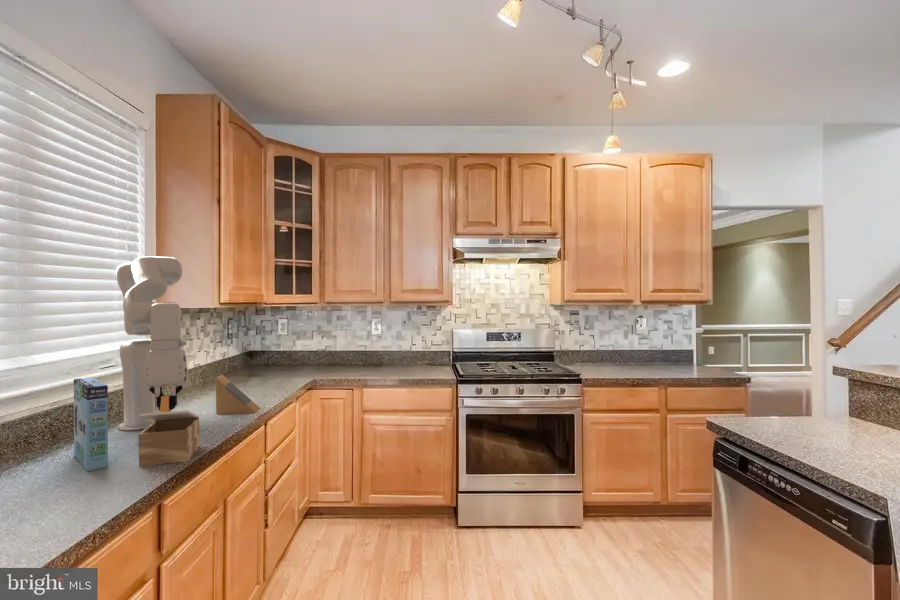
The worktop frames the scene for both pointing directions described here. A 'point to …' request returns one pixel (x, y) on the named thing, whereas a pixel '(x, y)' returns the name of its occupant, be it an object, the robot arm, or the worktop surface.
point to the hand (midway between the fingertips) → (167, 408)
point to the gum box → (91, 423)
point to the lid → (168, 412)
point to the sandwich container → (232, 398)
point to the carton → (168, 441)
